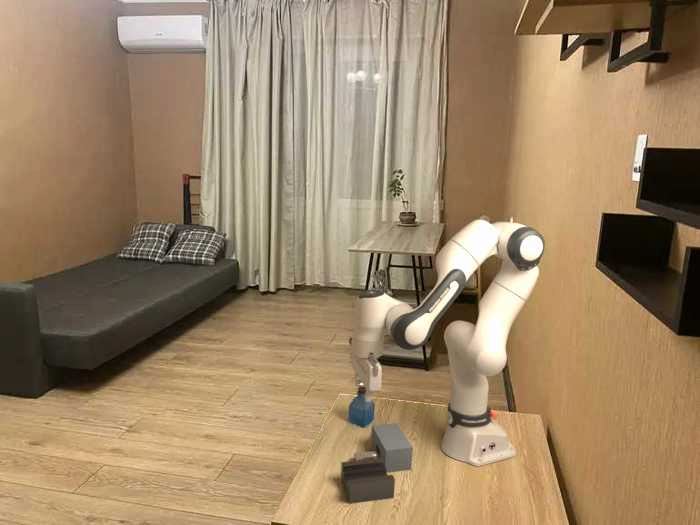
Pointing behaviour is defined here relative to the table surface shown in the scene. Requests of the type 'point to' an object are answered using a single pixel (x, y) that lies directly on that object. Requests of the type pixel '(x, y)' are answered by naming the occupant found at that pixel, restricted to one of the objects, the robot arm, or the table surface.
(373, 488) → the v block
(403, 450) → the grey block
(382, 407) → the table surface
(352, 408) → the perfume bottle
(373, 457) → the axle
